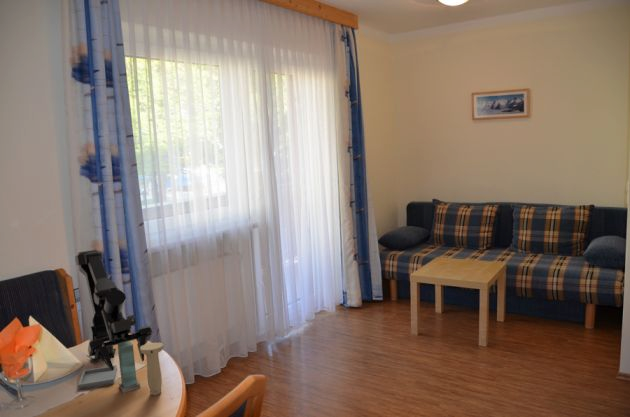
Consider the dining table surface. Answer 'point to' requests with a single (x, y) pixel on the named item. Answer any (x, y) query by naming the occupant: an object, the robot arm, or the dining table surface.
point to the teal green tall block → (127, 367)
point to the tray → (97, 377)
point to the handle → (153, 366)
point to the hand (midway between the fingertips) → (128, 365)
